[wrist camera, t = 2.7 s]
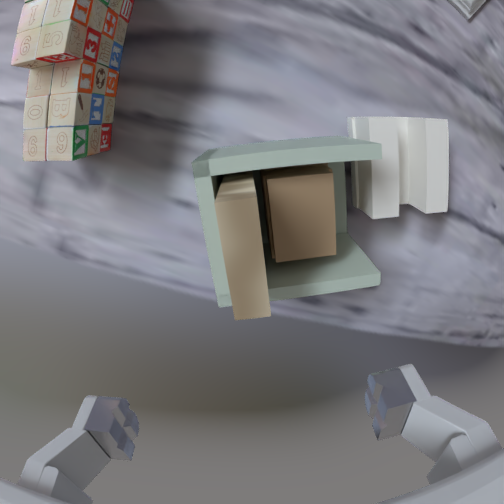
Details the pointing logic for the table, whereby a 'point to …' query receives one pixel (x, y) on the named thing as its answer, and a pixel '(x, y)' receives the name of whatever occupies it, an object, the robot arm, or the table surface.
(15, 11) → the table surface
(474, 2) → the molding
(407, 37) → the table surface
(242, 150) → the rack
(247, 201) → the rectangular block
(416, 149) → the holder
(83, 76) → the stack of blocks
